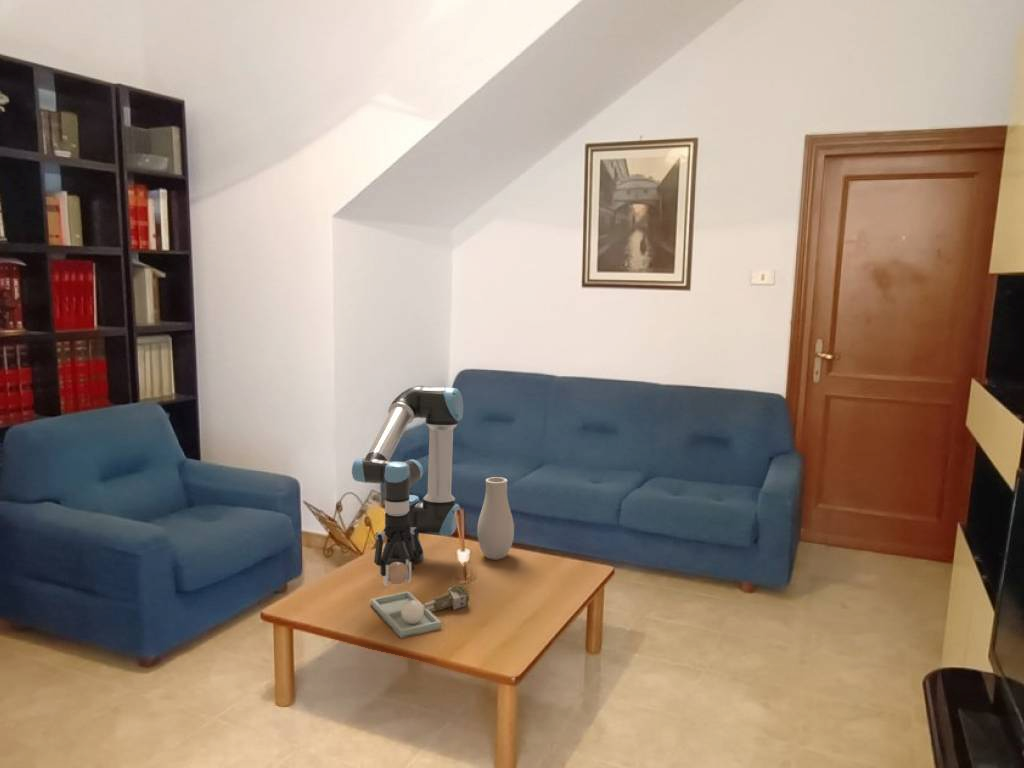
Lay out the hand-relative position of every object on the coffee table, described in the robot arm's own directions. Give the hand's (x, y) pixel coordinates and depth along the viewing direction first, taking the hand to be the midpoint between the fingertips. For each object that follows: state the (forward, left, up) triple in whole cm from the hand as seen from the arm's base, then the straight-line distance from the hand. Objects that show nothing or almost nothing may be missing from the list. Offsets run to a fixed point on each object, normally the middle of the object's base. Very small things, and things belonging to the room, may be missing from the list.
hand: (397, 582), depth 242 cm
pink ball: (0, 0, 0) cm, 0 cm away
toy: (-14, +7, -9) cm, 18 cm away
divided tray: (0, +6, -9) cm, 11 cm away
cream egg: (0, +12, -9) cm, 15 cm away
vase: (-49, -25, -9) cm, 56 cm away
